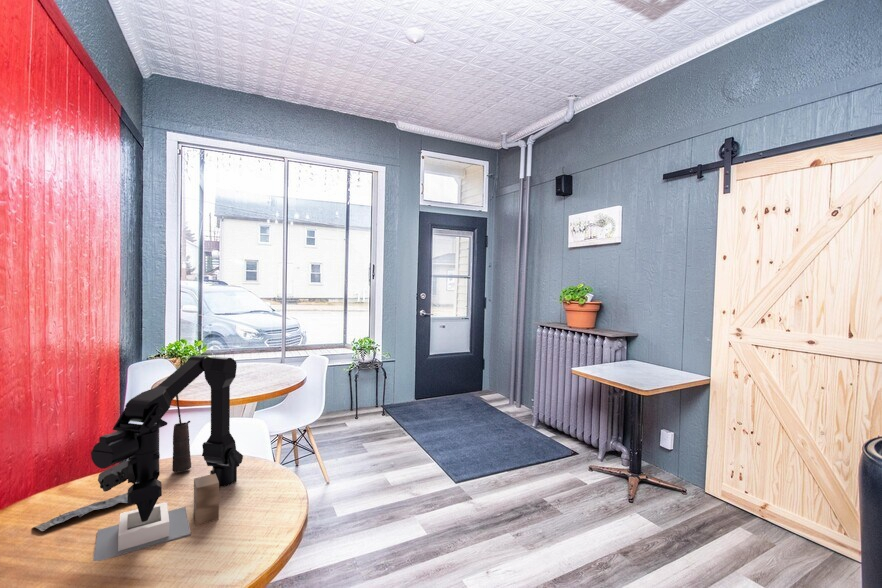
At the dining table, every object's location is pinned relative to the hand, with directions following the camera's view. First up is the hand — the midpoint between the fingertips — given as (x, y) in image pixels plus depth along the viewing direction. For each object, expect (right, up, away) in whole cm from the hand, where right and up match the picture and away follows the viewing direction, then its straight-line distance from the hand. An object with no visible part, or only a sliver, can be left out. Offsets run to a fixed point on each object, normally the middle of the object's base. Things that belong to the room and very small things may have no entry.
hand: (144, 513), depth 97 cm
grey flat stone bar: (-16, -8, +8) cm, 20 cm away
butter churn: (-13, -4, +35) cm, 38 cm away
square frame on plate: (0, -6, 0) cm, 6 cm away
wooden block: (+10, -6, +8) cm, 14 cm away
